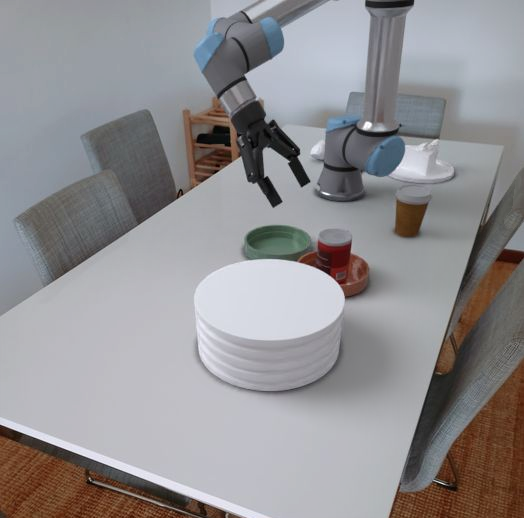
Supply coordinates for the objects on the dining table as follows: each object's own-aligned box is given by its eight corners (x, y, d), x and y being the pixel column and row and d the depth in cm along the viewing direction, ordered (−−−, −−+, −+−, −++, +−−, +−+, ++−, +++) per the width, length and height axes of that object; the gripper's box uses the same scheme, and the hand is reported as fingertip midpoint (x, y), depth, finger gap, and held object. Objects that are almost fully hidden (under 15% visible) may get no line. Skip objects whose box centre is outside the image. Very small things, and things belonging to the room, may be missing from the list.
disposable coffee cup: (424, 241, 138) (434, 198, 130) (388, 238, 139) (396, 195, 132) (423, 226, 145) (432, 185, 137) (389, 223, 146) (396, 182, 139)
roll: (307, 163, 187) (308, 147, 183) (316, 153, 195) (317, 138, 192) (322, 165, 185) (324, 149, 181) (331, 155, 194) (332, 140, 190)
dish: (461, 167, 184) (469, 134, 177) (440, 188, 168) (448, 153, 161) (396, 155, 195) (402, 123, 188) (371, 174, 178) (375, 140, 171)
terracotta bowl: (324, 255, 131) (325, 243, 129) (381, 278, 122) (383, 265, 120) (280, 280, 121) (281, 267, 119) (339, 307, 112) (340, 294, 110)
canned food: (350, 272, 124) (355, 230, 117) (343, 289, 118) (348, 245, 111) (319, 267, 126) (323, 225, 119) (311, 283, 120) (314, 240, 113)
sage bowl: (274, 230, 142) (274, 219, 140) (323, 250, 133) (324, 238, 131) (230, 251, 133) (230, 239, 130) (280, 274, 123) (280, 261, 121)
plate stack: (362, 374, 94) (371, 324, 87) (215, 404, 88) (211, 353, 81) (309, 297, 115) (312, 251, 108) (187, 316, 109) (182, 269, 102)
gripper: (261, 105, 123) (305, 183, 128) (199, 132, 107) (253, 221, 112) (283, 87, 118) (328, 170, 123) (221, 113, 101) (276, 207, 107)
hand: (292, 194), depth 118 cm, fingers open, 13 cm apart
